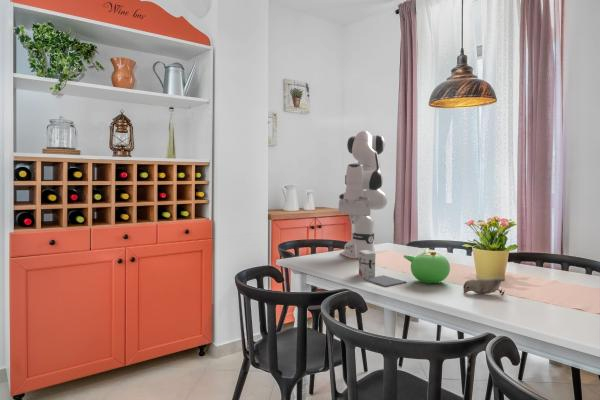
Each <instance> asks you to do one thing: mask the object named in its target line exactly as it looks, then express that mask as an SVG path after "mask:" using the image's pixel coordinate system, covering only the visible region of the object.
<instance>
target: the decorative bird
mask: <svg viewBox="0 0 600 400" xmlns="http://www.w3.org/2000/svg"><path fill="white" fill-rule="evenodd" d="M504 280H505V277H496V278H481V279H469V280H466V281H465V282H464V284H463V287H462V288H463V294H466V293H469V292H473V293H475V294H479V295H485V294H491V293H492V294H493V293H495V292H496V291H499V294H501V296H504V295H505V291H506V289H504V288H501V289H499V288H500V285H501V283H502V282H503V281H504ZM503 289H504V290H503Z"/></svg>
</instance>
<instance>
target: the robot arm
mask: <svg viewBox="0 0 600 400" xmlns="http://www.w3.org/2000/svg"><path fill="white" fill-rule="evenodd" d="M385 146H386V142H385V139H384V137H383V136H382V135H378V134H376V135H373V134H371V133H370V132H368V131H363V130H362V131H359V132H358V133H356V135H355V136H354V135H353V136H350V137H349V138H348V140H347V143H346V148H347V150H348V153H349V154H352V157H353V158H354V159H355V160H356V161H357V163H350V164H347V167H346V173H345V175H344V184H345V186H346V188H345V192H343V193H341V194H339V195H338V199H339V201H338V212H339V214H342V215H348V217H349V221H350V224H351V225H354V232H353V233H351V235H352V238H351V239H349V241H347V242H346V243H345V244H344V249H343V251H340V253H339V254H340V255H342V256H345V257H348V258H350V259H359V251H363V250H369V251H372V252H374V253H375V258H376V255H377V254H376V248H375V242H374V240H375V233H374V232H375V231H374V229H375V228H374V227H375V224H374V222H375V221H374V219H373V218H372V217H371V210H372V211H376V210H382V209H383V210H384V209H385V208H386V206H387V205H388V197H387V195H386V193H385V192H384V191H382V190H381V188H382V185H383V182H384V178H383V175H382V171H381V165H380V159H379V155H380V154H382V153H383V152H384V150H385Z"/></svg>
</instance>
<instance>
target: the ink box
mask: <svg viewBox="0 0 600 400" xmlns="http://www.w3.org/2000/svg"><path fill="white" fill-rule="evenodd" d="M375 253H376V252H375ZM375 253H374V252H372V251H369V250H363V251H359V258H358V275H360V276H362V277H364V279H365V278H371V277H376V257H375Z"/></svg>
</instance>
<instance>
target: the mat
mask: <svg viewBox="0 0 600 400" xmlns="http://www.w3.org/2000/svg"><path fill="white" fill-rule="evenodd" d="M363 281H365V282H367V283H368V282H369V283H372V284H375V285H377V286H381V287H384V288H388V287H389V288H390V287H393V286H398V285H403V284H407V281H406V280H401V279H399V278H394V277H391V276H387V275H377V276H375V277H371V278H365V277H364V278H363Z"/></svg>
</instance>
